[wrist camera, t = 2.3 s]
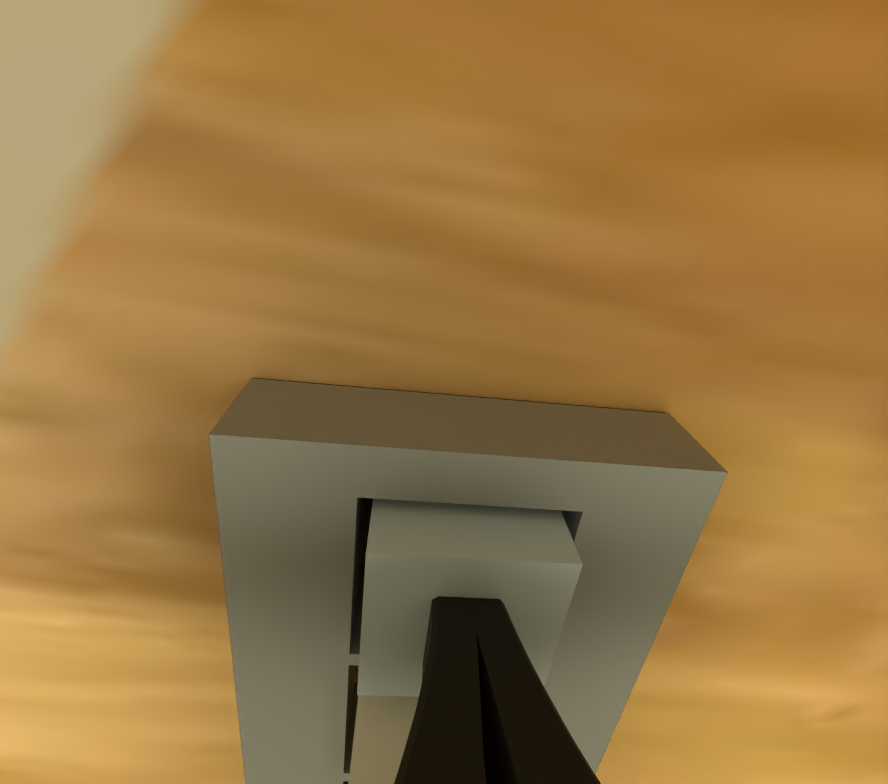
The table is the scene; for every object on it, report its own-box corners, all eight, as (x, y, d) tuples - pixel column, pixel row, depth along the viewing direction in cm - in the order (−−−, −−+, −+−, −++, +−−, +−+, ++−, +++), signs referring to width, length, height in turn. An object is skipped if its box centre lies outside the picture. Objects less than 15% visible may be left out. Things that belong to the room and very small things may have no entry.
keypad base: (534, 791, 19) (550, 876, 17) (275, 789, 18) (255, 878, 16) (669, 413, 12) (727, 472, 10) (251, 378, 11) (208, 434, 9)
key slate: (515, 590, 13) (539, 699, 11) (369, 583, 13) (357, 695, 10) (544, 471, 12) (582, 564, 9) (378, 459, 11) (365, 553, 9)
